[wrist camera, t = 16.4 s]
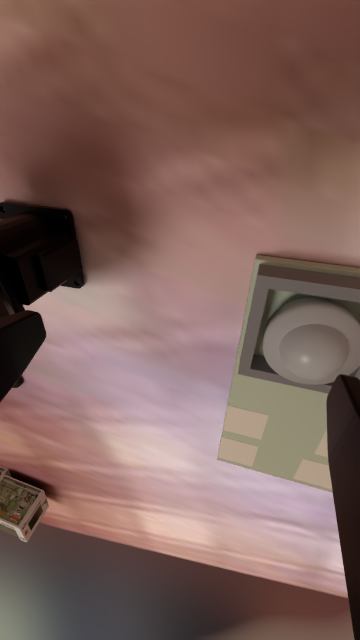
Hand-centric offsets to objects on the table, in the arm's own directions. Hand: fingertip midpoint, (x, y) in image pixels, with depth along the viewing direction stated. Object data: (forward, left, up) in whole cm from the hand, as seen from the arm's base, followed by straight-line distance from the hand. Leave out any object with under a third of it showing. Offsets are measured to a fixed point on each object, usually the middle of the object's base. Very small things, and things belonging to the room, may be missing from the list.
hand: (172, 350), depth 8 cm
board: (+9, -13, -13) cm, 21 cm away
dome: (+6, -6, -12) cm, 15 cm away
